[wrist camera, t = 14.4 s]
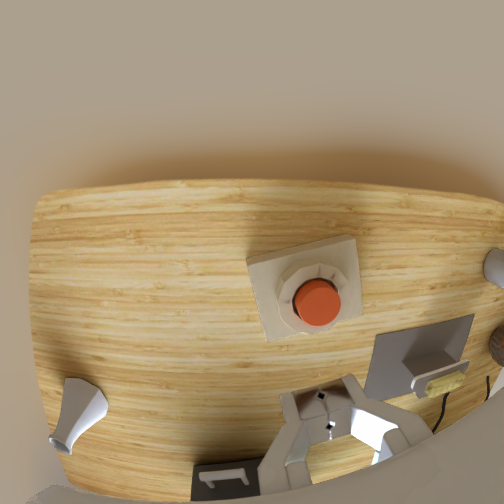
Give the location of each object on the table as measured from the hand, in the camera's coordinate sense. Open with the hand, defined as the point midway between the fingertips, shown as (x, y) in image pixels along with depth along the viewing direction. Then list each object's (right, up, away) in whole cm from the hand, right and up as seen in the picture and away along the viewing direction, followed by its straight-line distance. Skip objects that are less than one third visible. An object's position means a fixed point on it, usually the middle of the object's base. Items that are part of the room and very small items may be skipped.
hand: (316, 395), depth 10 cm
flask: (-25, -14, +20) cm, 35 cm away
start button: (+3, +2, +14) cm, 14 cm away
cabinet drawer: (-5, -30, +25) cm, 39 cm away
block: (+3, +2, +18) cm, 18 cm away
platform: (+21, -9, +22) cm, 32 cm away
